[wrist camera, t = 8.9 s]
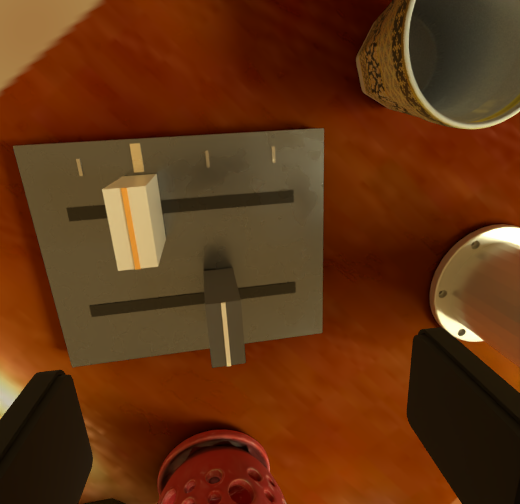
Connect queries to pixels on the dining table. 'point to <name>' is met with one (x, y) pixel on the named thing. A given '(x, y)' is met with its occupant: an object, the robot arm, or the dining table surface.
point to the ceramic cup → (445, 60)
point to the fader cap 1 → (135, 221)
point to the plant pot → (218, 471)
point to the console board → (181, 238)
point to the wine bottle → (107, 502)
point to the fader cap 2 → (224, 318)
